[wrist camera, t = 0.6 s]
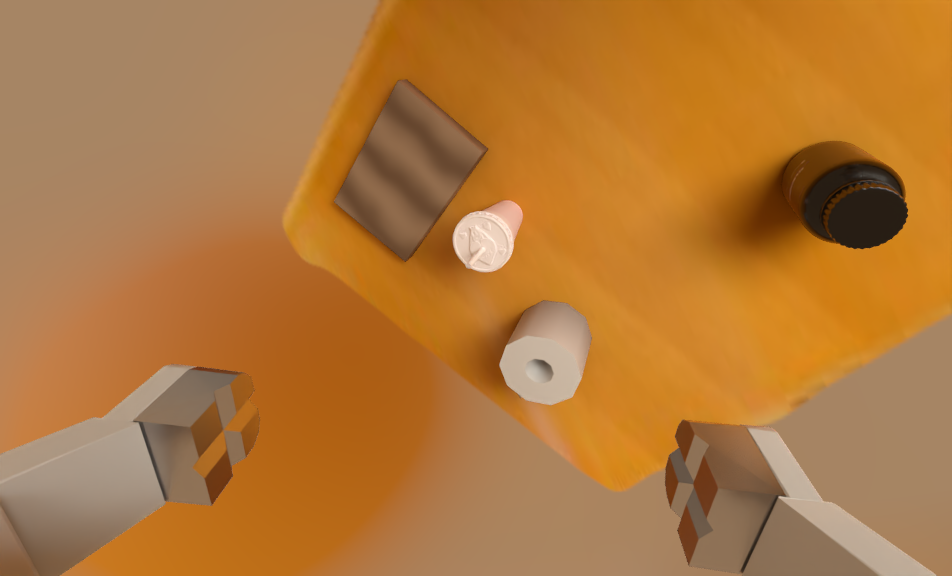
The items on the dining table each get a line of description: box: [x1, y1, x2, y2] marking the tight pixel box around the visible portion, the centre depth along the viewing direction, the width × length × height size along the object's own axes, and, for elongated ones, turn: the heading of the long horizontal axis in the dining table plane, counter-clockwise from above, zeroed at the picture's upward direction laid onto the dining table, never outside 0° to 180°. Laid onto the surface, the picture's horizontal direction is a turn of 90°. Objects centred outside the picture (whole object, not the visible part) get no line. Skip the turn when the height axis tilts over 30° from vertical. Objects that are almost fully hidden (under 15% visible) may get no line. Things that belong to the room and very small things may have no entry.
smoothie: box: [453, 200, 523, 272], centre depth 51 cm, size 6×6×14 cm
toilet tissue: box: [499, 300, 592, 405], centre depth 59 cm, size 9×13×9 cm
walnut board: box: [334, 80, 488, 262], centre depth 58 cm, size 18×12×2 cm, turn 144°
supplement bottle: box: [782, 141, 908, 249], centre depth 40 cm, size 7×7×12 cm
